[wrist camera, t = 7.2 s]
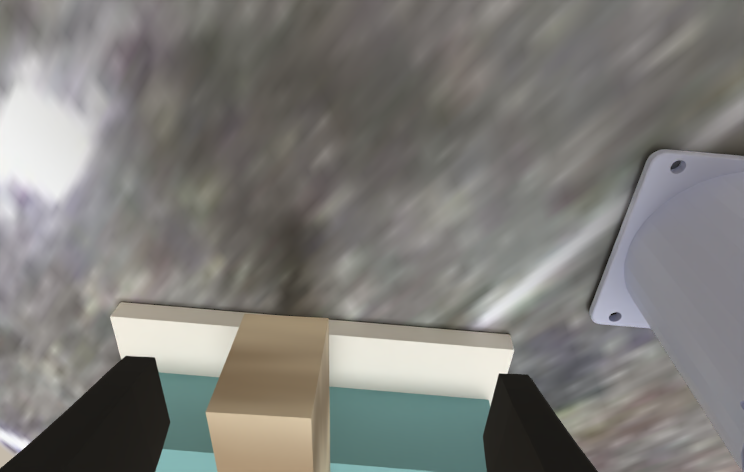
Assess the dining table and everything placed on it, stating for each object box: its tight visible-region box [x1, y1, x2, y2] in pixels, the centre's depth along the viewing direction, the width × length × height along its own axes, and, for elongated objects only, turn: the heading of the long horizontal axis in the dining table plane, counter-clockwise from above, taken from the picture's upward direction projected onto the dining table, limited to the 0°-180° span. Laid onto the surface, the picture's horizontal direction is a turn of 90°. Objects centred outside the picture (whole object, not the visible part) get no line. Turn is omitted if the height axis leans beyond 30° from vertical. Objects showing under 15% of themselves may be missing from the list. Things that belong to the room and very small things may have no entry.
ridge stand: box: [110, 302, 514, 472], centre depth 23 cm, size 18×9×5 cm, turn 86°
